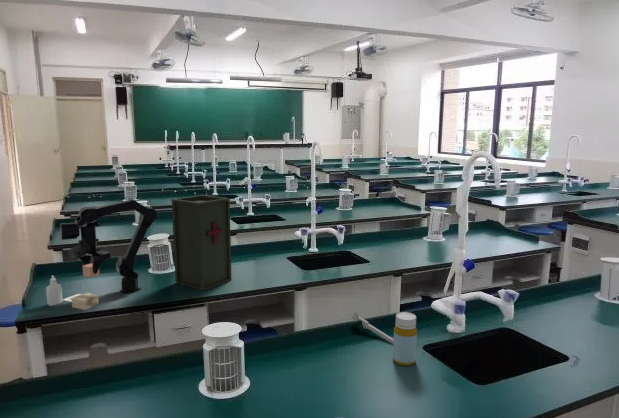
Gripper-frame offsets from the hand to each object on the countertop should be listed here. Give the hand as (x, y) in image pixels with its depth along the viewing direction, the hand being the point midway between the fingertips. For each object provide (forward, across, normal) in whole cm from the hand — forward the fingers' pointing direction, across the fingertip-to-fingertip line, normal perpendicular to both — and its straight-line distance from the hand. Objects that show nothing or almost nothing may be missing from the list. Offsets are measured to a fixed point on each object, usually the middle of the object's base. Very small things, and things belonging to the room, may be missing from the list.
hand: (91, 272), depth 195 cm
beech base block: (+11, +5, -8) cm, 15 cm away
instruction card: (+11, -6, -4) cm, 13 cm away
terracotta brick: (+1, 0, 0) cm, 1 cm away
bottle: (+11, +134, +4) cm, 134 cm away
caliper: (+11, +120, +18) cm, 122 cm away
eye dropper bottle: (+11, -8, -12) cm, 18 cm away
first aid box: (+11, +29, +38) cm, 49 cm away
